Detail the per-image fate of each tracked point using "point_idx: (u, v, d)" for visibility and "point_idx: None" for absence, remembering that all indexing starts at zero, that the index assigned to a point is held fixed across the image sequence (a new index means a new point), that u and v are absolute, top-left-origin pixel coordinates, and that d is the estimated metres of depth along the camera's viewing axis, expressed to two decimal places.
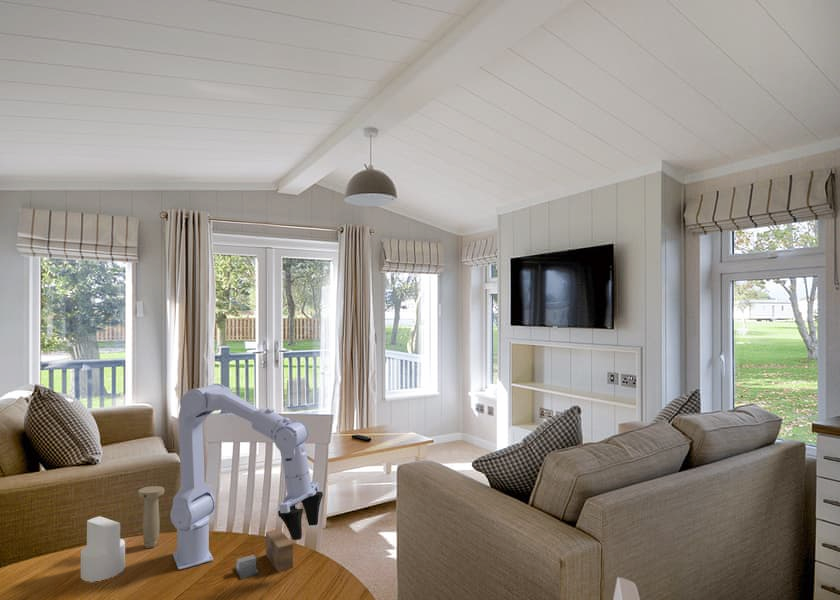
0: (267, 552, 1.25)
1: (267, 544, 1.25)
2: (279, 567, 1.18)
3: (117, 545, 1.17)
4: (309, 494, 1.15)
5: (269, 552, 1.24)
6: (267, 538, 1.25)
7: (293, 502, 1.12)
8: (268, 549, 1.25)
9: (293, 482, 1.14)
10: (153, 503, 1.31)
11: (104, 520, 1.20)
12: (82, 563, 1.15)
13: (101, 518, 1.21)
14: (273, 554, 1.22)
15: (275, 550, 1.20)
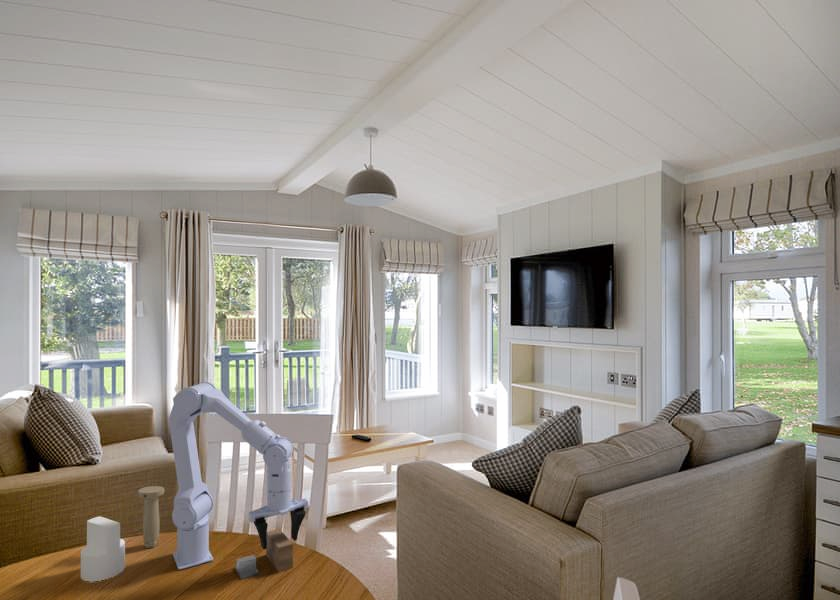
0: (267, 552, 1.25)
1: (267, 544, 1.25)
2: (279, 567, 1.18)
3: (117, 545, 1.17)
4: (279, 512, 1.20)
5: (269, 552, 1.24)
6: (267, 538, 1.25)
7: (260, 514, 1.19)
8: (268, 549, 1.25)
9: (268, 496, 1.22)
10: (153, 503, 1.31)
11: (104, 520, 1.20)
12: (82, 563, 1.15)
13: (101, 518, 1.21)
14: (273, 554, 1.22)
15: (275, 550, 1.20)
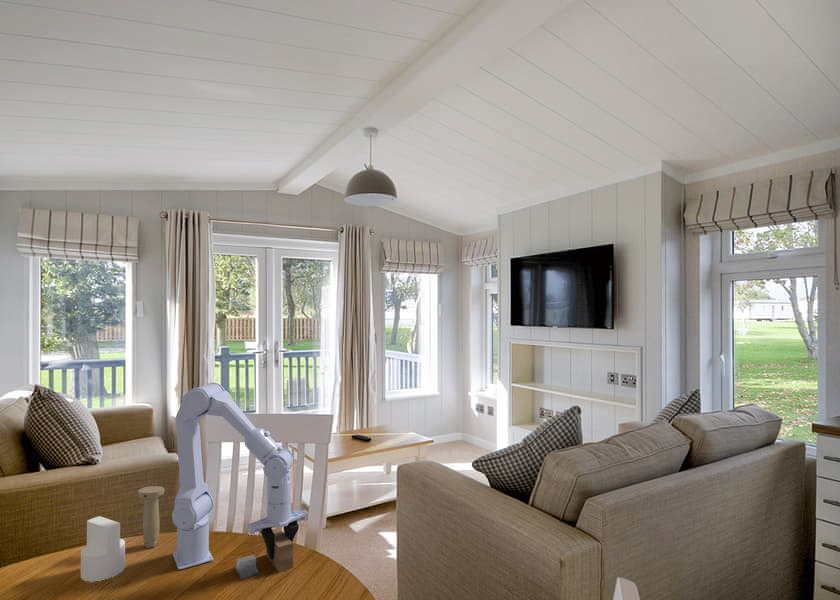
0: (267, 551, 1.25)
1: None
2: (279, 566, 1.18)
3: (117, 545, 1.17)
4: (279, 524, 1.20)
5: None
6: None
7: (259, 526, 1.19)
8: None
9: (268, 507, 1.21)
10: (153, 503, 1.31)
11: (104, 520, 1.20)
12: (82, 563, 1.15)
13: (101, 518, 1.21)
14: None
15: (275, 549, 1.20)
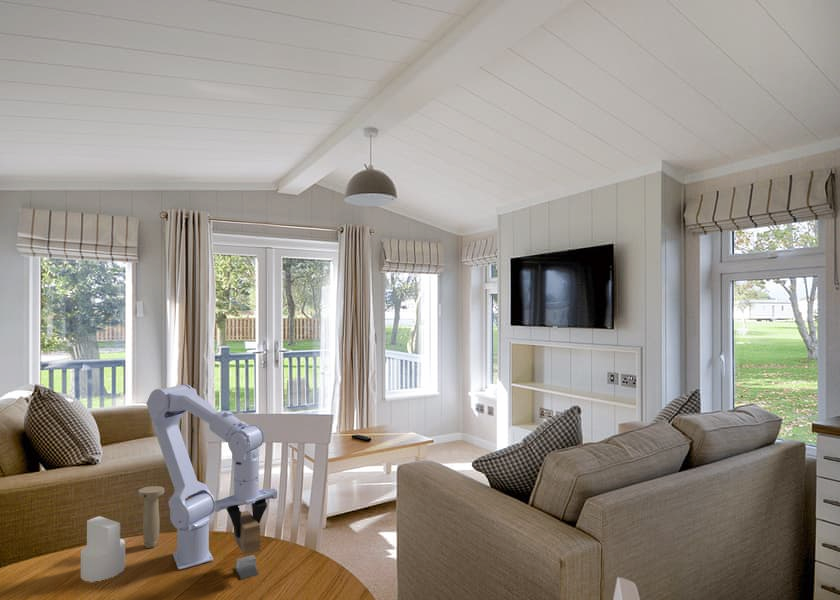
0: None
1: None
2: (245, 549, 1.14)
3: (117, 545, 1.17)
4: (245, 502, 1.16)
5: None
6: None
7: (225, 504, 1.15)
8: None
9: (235, 485, 1.17)
10: (153, 503, 1.31)
11: (104, 520, 1.20)
12: (82, 563, 1.15)
13: (101, 518, 1.21)
14: None
15: (242, 531, 1.16)
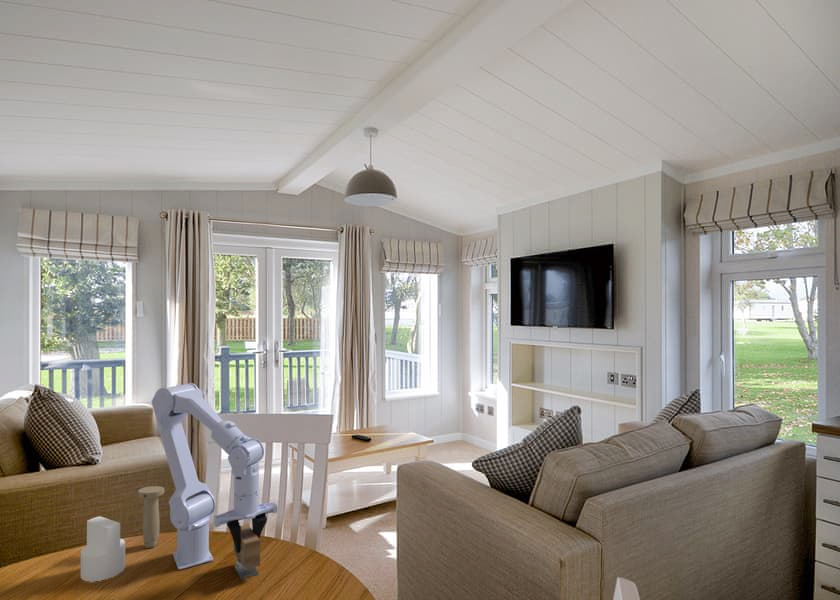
0: None
1: None
2: (245, 563, 1.14)
3: (117, 545, 1.17)
4: (245, 516, 1.16)
5: None
6: None
7: (225, 519, 1.15)
8: None
9: (235, 499, 1.17)
10: (153, 503, 1.31)
11: (104, 520, 1.20)
12: (82, 563, 1.15)
13: (101, 518, 1.21)
14: None
15: (242, 546, 1.16)
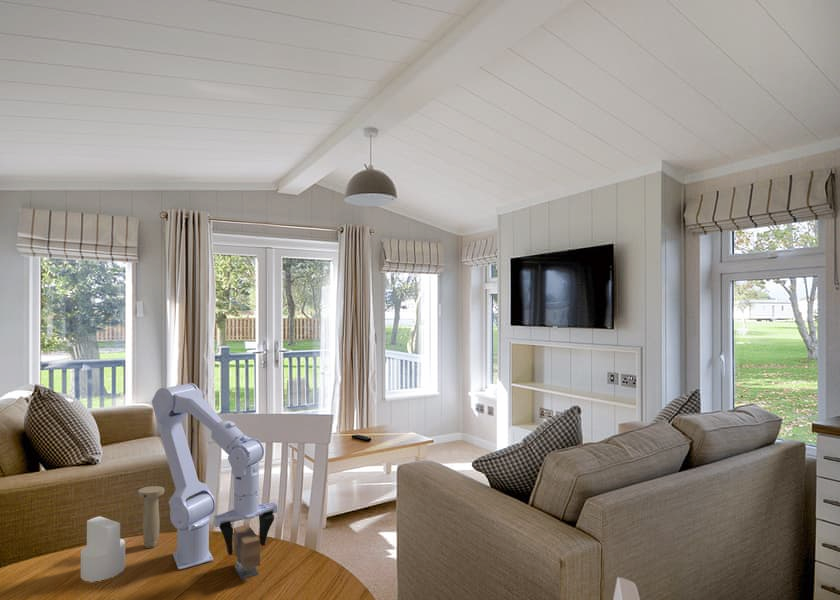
0: (235, 548, 1.21)
1: (235, 540, 1.21)
2: (245, 563, 1.14)
3: (117, 545, 1.17)
4: (245, 516, 1.16)
5: (236, 548, 1.19)
6: (235, 534, 1.21)
7: (225, 519, 1.15)
8: (235, 545, 1.20)
9: (235, 499, 1.17)
10: (153, 503, 1.31)
11: (104, 520, 1.20)
12: (82, 563, 1.15)
13: (101, 518, 1.21)
14: (239, 551, 1.17)
15: (242, 546, 1.16)
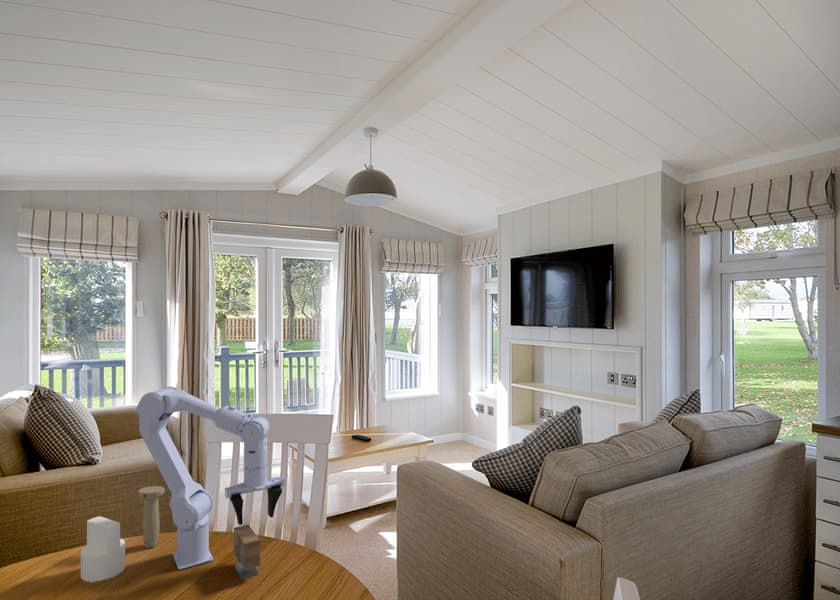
0: (235, 548, 1.21)
1: (235, 540, 1.21)
2: (245, 563, 1.14)
3: (117, 545, 1.17)
4: (255, 488, 1.21)
5: (236, 548, 1.19)
6: (235, 534, 1.21)
7: (236, 490, 1.21)
8: (235, 545, 1.20)
9: (245, 472, 1.23)
10: (153, 503, 1.31)
11: (104, 520, 1.20)
12: (82, 563, 1.15)
13: (101, 518, 1.21)
14: (239, 551, 1.17)
15: (242, 546, 1.16)
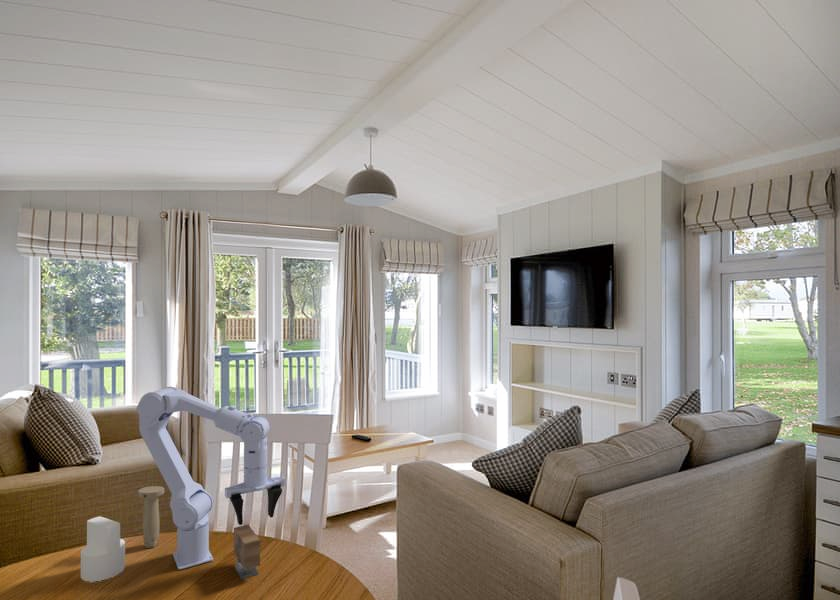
0: (235, 548, 1.21)
1: (235, 540, 1.21)
2: (245, 563, 1.14)
3: (117, 545, 1.17)
4: (255, 488, 1.21)
5: (236, 548, 1.19)
6: (235, 534, 1.21)
7: (236, 490, 1.21)
8: (235, 545, 1.20)
9: (245, 472, 1.23)
10: (153, 503, 1.31)
11: (104, 520, 1.20)
12: (82, 563, 1.15)
13: (101, 518, 1.21)
14: (239, 551, 1.17)
15: (242, 546, 1.16)
